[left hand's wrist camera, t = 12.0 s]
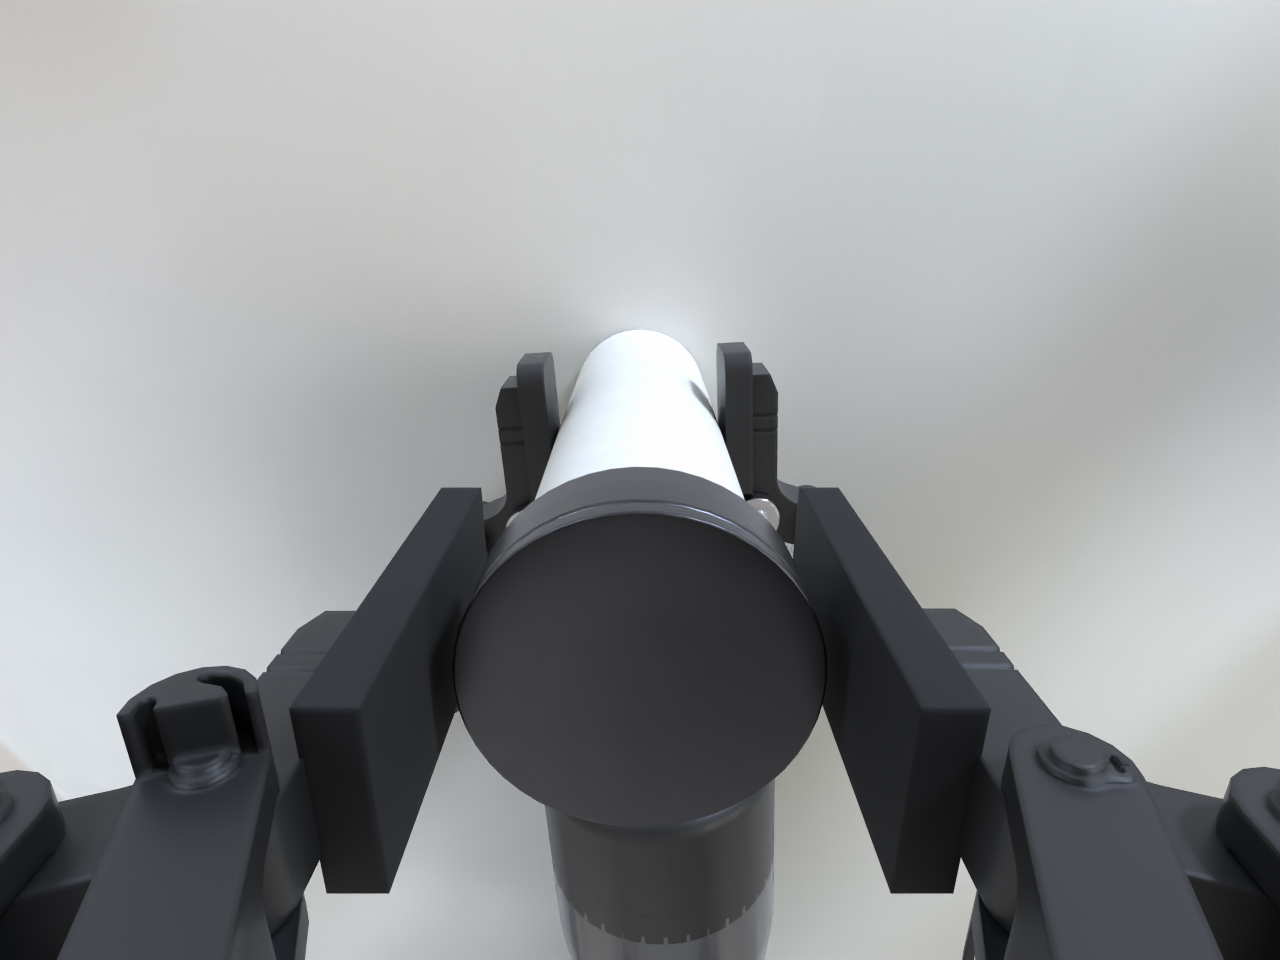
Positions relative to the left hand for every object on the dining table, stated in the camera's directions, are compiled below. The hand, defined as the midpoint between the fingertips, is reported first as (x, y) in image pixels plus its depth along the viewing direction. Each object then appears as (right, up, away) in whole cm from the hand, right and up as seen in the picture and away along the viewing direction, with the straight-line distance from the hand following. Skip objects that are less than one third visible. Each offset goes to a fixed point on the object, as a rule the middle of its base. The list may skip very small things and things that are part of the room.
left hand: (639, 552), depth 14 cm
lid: (0, -1, -4) cm, 4 cm away
